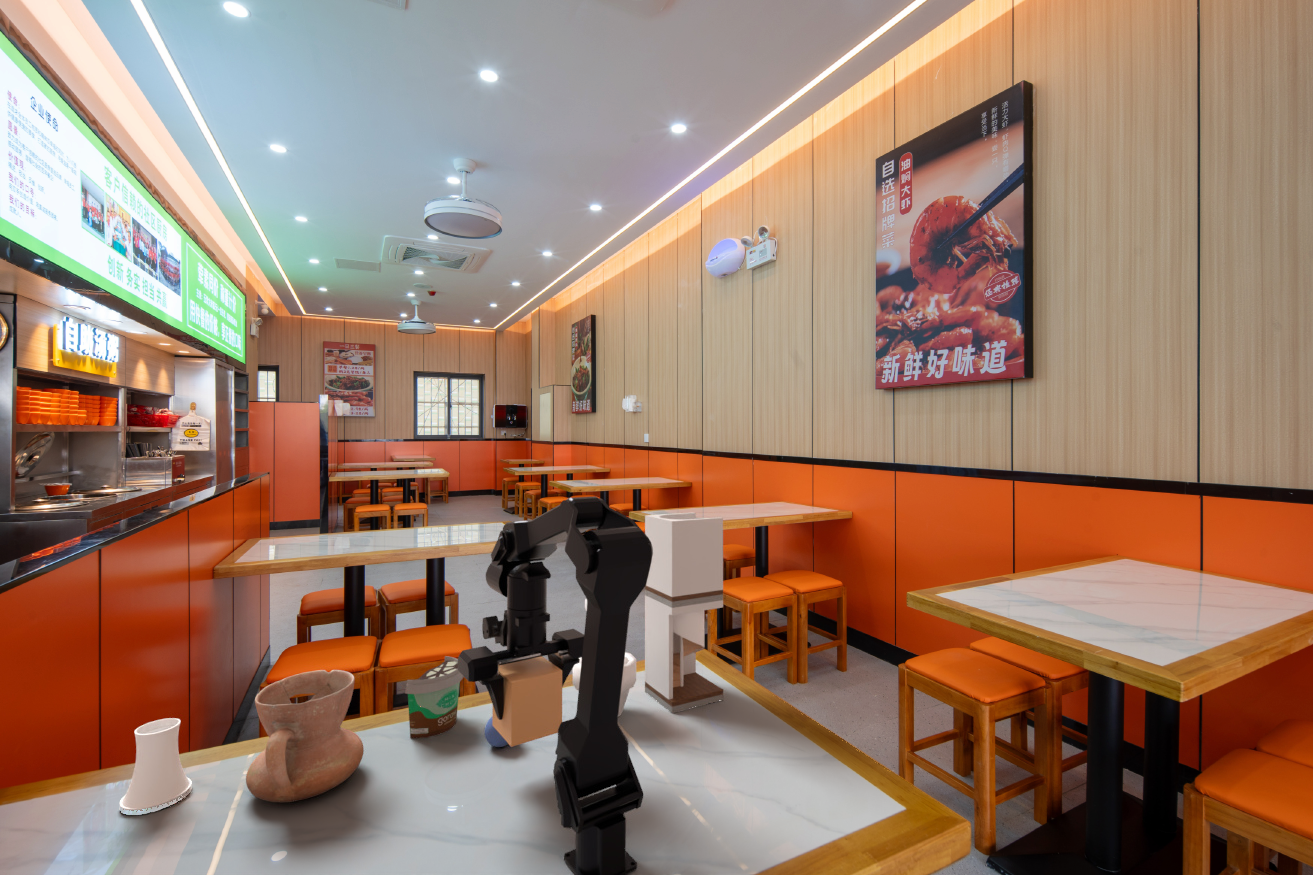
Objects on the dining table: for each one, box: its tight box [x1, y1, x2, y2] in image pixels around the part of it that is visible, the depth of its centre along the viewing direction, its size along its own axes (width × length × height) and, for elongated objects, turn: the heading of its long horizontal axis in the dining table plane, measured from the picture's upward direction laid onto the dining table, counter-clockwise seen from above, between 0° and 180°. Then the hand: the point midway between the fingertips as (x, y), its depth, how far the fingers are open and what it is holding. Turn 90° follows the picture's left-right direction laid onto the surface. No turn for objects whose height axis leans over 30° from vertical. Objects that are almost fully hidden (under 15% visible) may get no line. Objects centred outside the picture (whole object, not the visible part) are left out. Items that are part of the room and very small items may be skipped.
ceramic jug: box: [245, 669, 365, 803], centre depth 83 cm, size 18×14×14 cm
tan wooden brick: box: [491, 656, 563, 748], centre depth 86 cm, size 8×8×9 cm
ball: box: [484, 716, 509, 748], centre depth 95 cm, size 5×5×5 cm
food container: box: [404, 655, 465, 739], centre depth 101 cm, size 12×6×10 cm, turn 168°
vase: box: [119, 717, 193, 812], centre depth 80 cm, size 8×8×10 cm
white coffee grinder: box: [644, 512, 724, 714], centre depth 114 cm, size 11×11×35 cm
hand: (526, 711), depth 86 cm, fingers closed on tan wooden brick, 8 cm apart
